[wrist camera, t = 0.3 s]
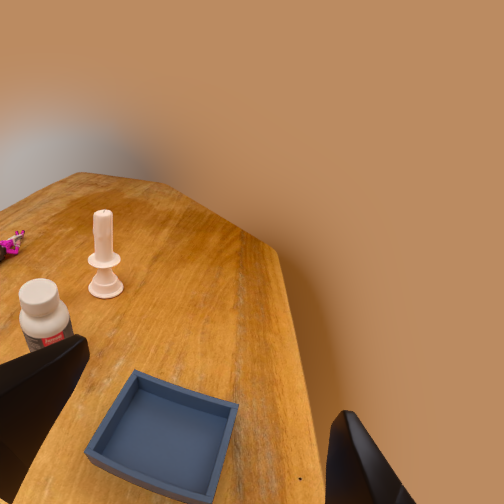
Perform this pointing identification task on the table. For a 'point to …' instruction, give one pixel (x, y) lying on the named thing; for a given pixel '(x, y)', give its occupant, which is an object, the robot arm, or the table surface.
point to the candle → (104, 257)
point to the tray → (165, 439)
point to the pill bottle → (43, 314)
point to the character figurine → (10, 245)
